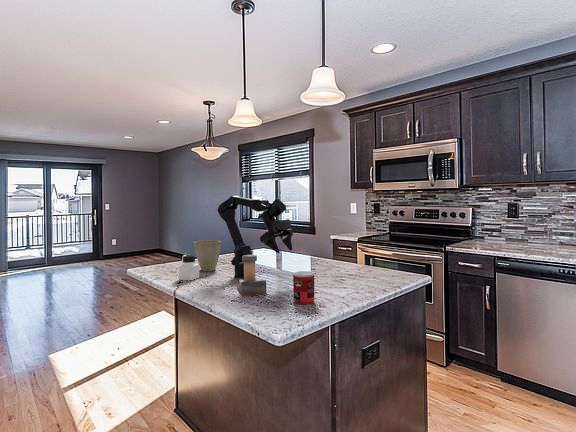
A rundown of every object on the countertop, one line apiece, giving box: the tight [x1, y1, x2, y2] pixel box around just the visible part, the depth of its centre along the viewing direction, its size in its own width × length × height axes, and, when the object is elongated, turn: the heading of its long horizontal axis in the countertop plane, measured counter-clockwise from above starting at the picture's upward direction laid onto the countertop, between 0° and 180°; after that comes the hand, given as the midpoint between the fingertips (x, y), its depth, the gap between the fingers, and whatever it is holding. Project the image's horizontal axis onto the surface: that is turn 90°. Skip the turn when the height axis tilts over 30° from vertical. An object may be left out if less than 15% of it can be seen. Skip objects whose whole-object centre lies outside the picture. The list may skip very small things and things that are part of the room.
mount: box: [237, 277, 267, 297], centre depth 153 cm, size 14×10×6 cm
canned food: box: [292, 270, 315, 305], centre depth 136 cm, size 8×8×11 cm
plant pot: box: [193, 239, 222, 272], centre depth 199 cm, size 15×15×16 cm
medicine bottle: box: [178, 254, 200, 281], centre depth 177 cm, size 7×7×12 cm
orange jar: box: [242, 254, 258, 281], centre depth 156 cm, size 6×6×13 cm
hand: (285, 251), depth 163 cm, fingers open, 9 cm apart
